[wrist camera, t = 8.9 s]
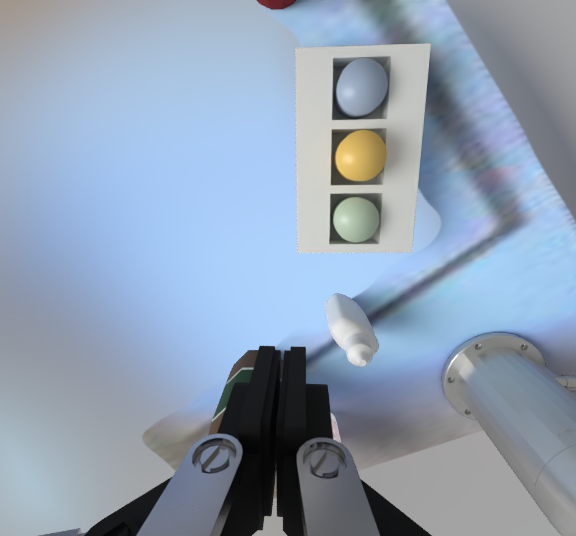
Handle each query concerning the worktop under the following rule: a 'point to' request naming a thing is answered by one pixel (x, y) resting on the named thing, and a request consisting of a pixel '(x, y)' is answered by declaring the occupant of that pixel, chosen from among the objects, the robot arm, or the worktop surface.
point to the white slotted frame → (335, 128)
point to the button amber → (360, 156)
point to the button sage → (355, 218)
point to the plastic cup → (276, 3)
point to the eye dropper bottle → (351, 329)
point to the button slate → (360, 88)
